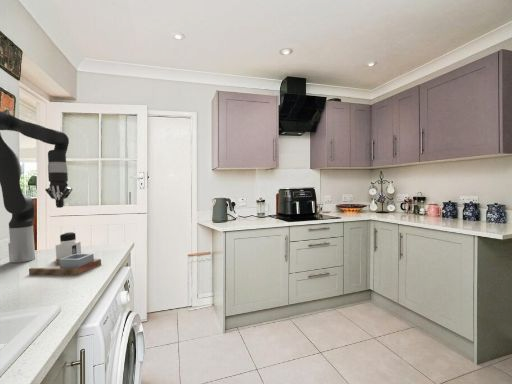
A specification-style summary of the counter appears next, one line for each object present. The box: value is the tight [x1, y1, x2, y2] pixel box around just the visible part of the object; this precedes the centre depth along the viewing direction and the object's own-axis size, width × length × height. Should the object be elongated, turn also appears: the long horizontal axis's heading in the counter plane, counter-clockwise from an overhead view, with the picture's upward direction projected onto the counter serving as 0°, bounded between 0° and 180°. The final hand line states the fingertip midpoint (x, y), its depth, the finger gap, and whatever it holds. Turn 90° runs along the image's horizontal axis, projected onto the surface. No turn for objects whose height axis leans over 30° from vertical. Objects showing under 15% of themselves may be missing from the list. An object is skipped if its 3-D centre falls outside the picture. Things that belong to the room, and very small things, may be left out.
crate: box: [59, 253, 95, 268], centre depth 120 cm, size 9×9×6 cm
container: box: [55, 231, 82, 260], centre depth 138 cm, size 8×8×13 cm
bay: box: [28, 258, 102, 276], centre depth 120 cm, size 22×15×2 cm
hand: (59, 207), depth 130 cm, fingers closed
